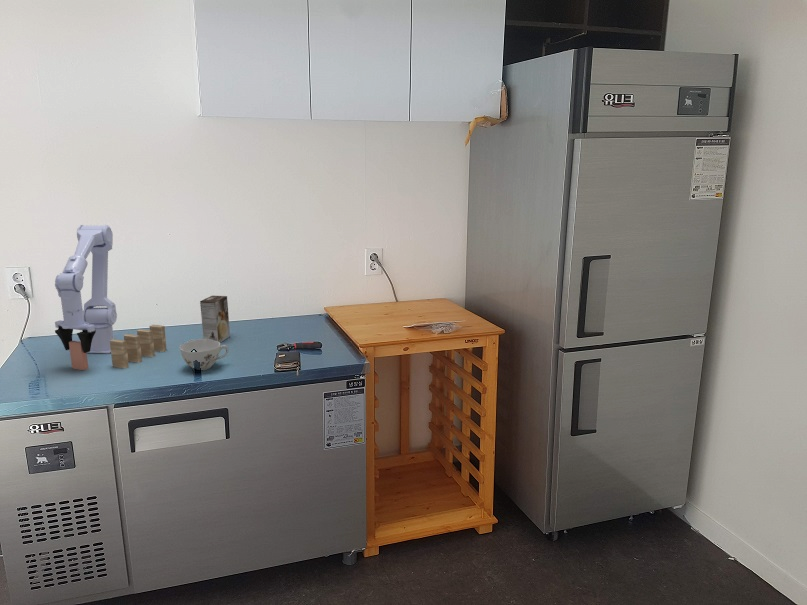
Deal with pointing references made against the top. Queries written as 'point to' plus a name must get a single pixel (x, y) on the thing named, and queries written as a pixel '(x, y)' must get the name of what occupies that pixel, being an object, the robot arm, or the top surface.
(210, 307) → the coffee box
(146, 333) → the domino
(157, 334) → the domino
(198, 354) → the teacup
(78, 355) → the end domino
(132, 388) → the top surface
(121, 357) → the domino
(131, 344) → the domino
